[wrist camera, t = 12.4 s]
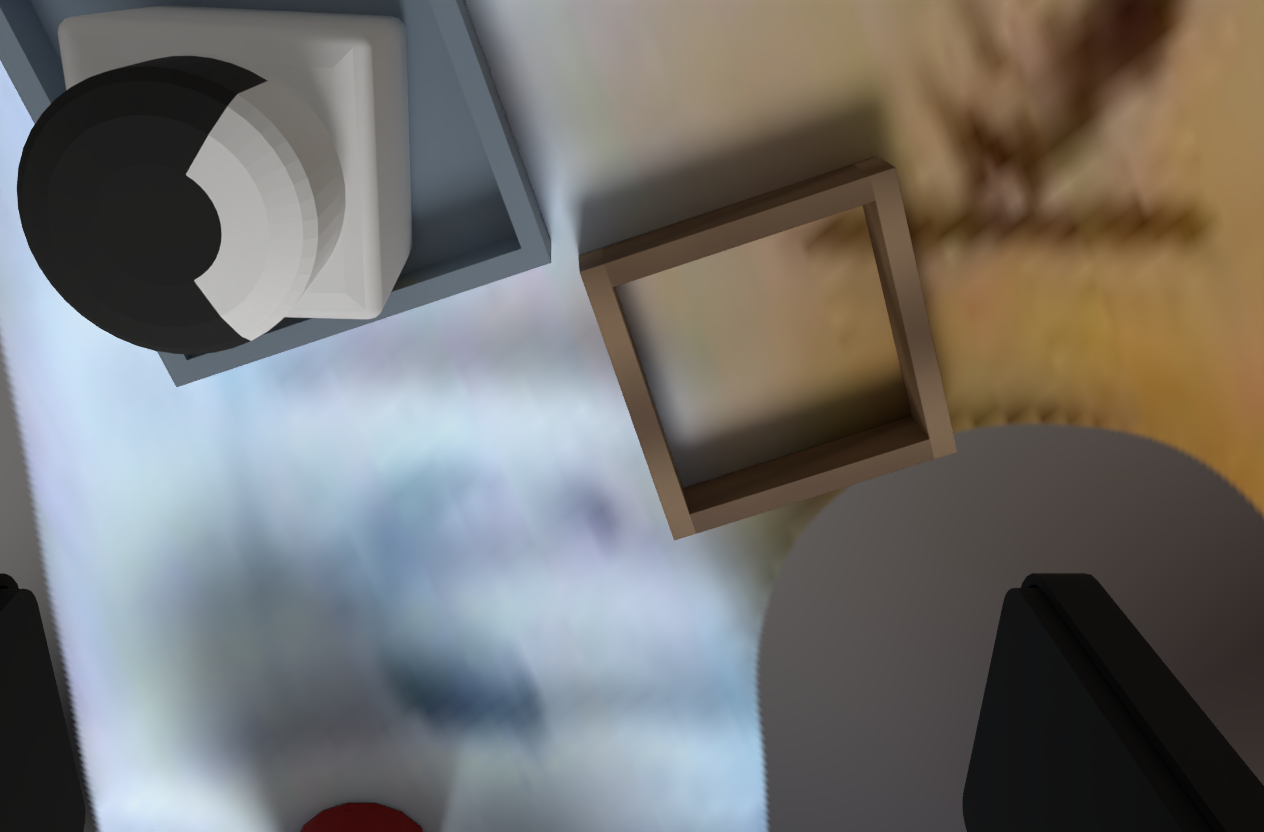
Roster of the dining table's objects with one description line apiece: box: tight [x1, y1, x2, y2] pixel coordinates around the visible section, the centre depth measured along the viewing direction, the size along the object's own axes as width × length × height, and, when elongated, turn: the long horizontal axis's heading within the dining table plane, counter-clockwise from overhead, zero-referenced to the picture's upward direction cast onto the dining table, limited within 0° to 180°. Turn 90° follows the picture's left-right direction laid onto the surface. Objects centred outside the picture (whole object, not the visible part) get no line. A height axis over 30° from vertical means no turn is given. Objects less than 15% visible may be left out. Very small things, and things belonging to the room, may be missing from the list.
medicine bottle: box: [17, 5, 413, 354], centre depth 27 cm, size 7×7×12 cm
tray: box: [0, 0, 551, 387], centre depth 32 cm, size 12×12×2 cm
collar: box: [579, 157, 957, 540], centre depth 36 cm, size 10×10×2 cm
